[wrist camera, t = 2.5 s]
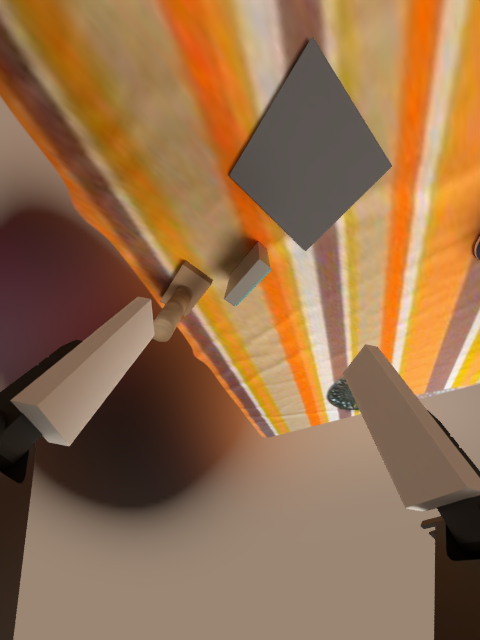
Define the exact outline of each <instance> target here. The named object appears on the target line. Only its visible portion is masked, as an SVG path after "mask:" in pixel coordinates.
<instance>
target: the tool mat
mask: <svg viewBox="0 0 480 640" xmlns="http://www.w3.org/2000/svg"><path fill="white" fill-rule="evenodd" d="M391 167H392V165H391V163H390V162H389V160H388V159H387V157H386V155H385V154H384V152H383V150H382V149H381V147H380V146H379V144H378V142H377V141H376V139H375V137H374V136H373V134H372V133H371V131H370V129H369V128H368V126H367V124H366V123H365V121H364V119H363V118H362V116H361V115H360V113H359V111H358V110H357V108H356V106H355V105H354V103H353V102H352V100H351V98H350V97H349V95H348V93H347V92H346V90H345V89H344V87H343V85H342V84H341V82H340V80H339V79H338V77H337V76H336V74H335V72H334V71H333V69H332V67H331V66H330V64H329V63H328V61H327V59H326V58H325V56H324V54H323V53H322V51H321V50H320V48H319V46H318V45H317V43H316V41H315V40H314V38H313V37H312V38H311V39H310V41H309V43H308V44H307V46H306V48H305V49H304V51H303V53H302V54H301V56H300V58H299V59H298V61H297V63H296V65H295V66H294V68H293V70H292V71H291V73H290V75H289V76H288V78H287V80H286V81H285V83H284V85H283V86H282V88H281V90H280V91H279V93H278V95H277V96H276V98H275V100H274V101H273V103H272V105H271V106H270V108H269V110H268V111H267V113H266V115H265V116H264V118H263V120H262V121H261V123H260V125H259V127H258V128H257V130H256V132H255V133H254V135H253V137H252V138H251V140H250V142H249V143H248V145H247V147H246V148H245V150H244V152H243V153H242V155H241V157H240V158H239V160H238V162H237V163H236V165H235V167H234V168H233V170H232V172H231V173H230V175H229V176H230V177H231V178H232V179H233V180H234V181H235V182H236V183H237V184H238V185H239V186H240V187H241V188H242V189H243V190H244V191H245V192H246V193H247V194H248V195H249V196H250V197H251V198H252V199H253V200H254V201H255V202H256V203H257V204H258V205H259V206H260V207H261V208H262V209H263V210H264V211H265V212H266V213H267V214H268V215H269V216H270V217H271V218H272V219H273V220H274V221H275V222H276V223H277V224H278V225H279V226H280V227H281V228H282V229H283V230H284V231H285V232H286V233H287V234H289V235H290V236H291V237H292V238H293V239H294V240H295V241H296V242H297V243H298V244H299V245H300V246H301V247H302V248H303V249H304V250H305V251H306V250H307V249H308V248H309V247H310V246H311V245H312V244H313V243H314V242H315V241H317V240H318V239H319V238H320V237H321V236H322V235H323V234H324V233H325V232H326V231H327V230H328V229H329V228H330V227H331V226H332V225H333V224H334V223H335V222H336V221H337V220H338V219H339V218H340V217H341V216H342V215H343V214H344V213H345V212H346V211H347V210H348V209H349V208H350V207H351V206H352V205H353V204H354V203H355V202H356V201H357V200H358V199H359V198H360V197H361V196H362V195H363V194H364V193H365V192H366V191H367V190H368V189H369V188H370V187H371V186H372V185H373V184H374V183H375V182H377V181H378V180H379V179H380V178H381V177H382V176H383V175H384V174H385V173H386V172H387V171H388V170H389V169H390V168H391Z"/></svg>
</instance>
